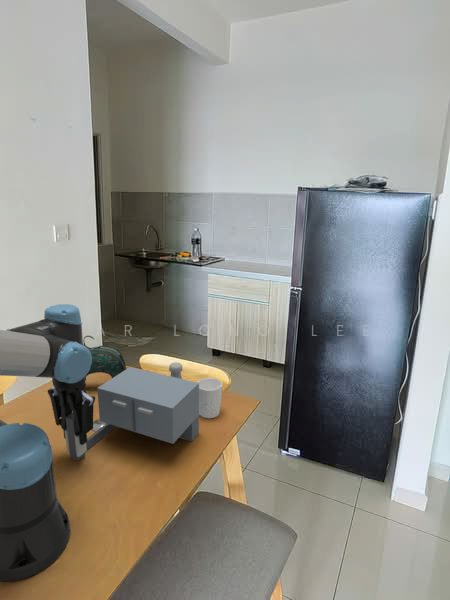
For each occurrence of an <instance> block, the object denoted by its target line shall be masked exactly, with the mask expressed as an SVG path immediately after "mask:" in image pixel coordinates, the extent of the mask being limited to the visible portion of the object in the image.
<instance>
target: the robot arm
mask: <svg viewBox="0 0 450 600" xmlns="http://www.w3.org/2000/svg"><path fill="white" fill-rule="evenodd" d="M81 317H82V316H81V312H80V310H79V307H77V306H76V305H74V304H69V303H68V304H67V303H62V304H55V305H51V306H49V307H47V308H45V309H44V315H43V319H41V320H38V321H34V322H31V323H28V324H27V323H26V324H24V325H21V326H17V327H13V328H7V329H6V330H3V329H0V376H9V377H10V376H11V377H27V378H28V377H29V378H30V377H31V378H32V377H33V378H47V379H48V378H50V379H52V380H51V381H52V387H51V388H49V389H47V395H48V397H49V398H50V402H51V407H52V411H53V416H54V421H55V424H56V426H60V427H61V429H62V430H63V431H62V432H63V438H64V439H65V446H66V447H65V448H66V454H70V450H69V442H68V433H67V426H66V417H67V416H68V415H70V414H71V413H73V416H74V421H75V426H76V430H77V433H75V434H74V435H75V444H76V454H77V457H80V456H81V455H82V454H83V453H85V454H86V453H87V451H88V450H87V448H86V442H87V438H88V435H87V434H88V433H89V432H91V431H93V430H92V429H93V422H94V403H95V401H96V396H95V395H91V396H90V395H89V394H88V393H87V390H86V387H84V384H86V381H87V377H86V375H87V373H88V372H89V370H90V367H91V363H92V356H91V353H90V351H89V350H88V348H86V347H85V346H83V344H84V342H83V340H84V338H83V329H82V326H83V322H82V318H81ZM55 481H56V479H55V472H54V463H53V449H52V445H51V443H50V439H49V436H48V434H47V433H46V432H45V430H44V429H43V428H41V427H39V426H37V425H35V424H33V423H26V422H24V423H22V424H20V423H19V422H14V423H9V424H8V423H7V422H5V421H4V420H2V419H0V582H15V581H20V580H21V581H22V580H23V579H27V578H31V577H33V576H35V575H36V574H38V573H41V572H42V571H43V570H45V569H46V568H48V567H49V566H50V565H52V564H53V563H54V562H55V561H56V560H57V559H58V558H59V557H60V556H61V554H62V553H63V552H64V551H65V549H66V548H67V546H68V543H69V540H70V537H71V525H70V524H71V523H70V518H69V515H68V514H67V513H68V512H67V511H66V510H65V508H64V507H63V505H62V504H61V502H60V501H59V499H58V498H57V490H56V482H55Z"/></svg>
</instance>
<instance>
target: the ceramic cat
mask: <svg viewBox="0 0 450 600" xmlns="http://www.w3.org/2000/svg"><path fill="white" fill-rule="evenodd" d="M86 338H90V339H93V340H95V338H94V337H93V336H92V335H86V336H84V337H83V346H85V347H86V348H88V350H89V351H90V353H91V356H92V363H91V367H90V370H89V372H88V373H87V375H86V378H87V377H88V376H90V375H92V374H96V373H97V374H98V373H101V374H107V375H109V376H110V377H111V379H112V378H114V377H115V376H117V375H118V374H120V373H121V372H123V371H124V370H126V369H127V366H126V361H125V360H124V356H123V354H122V353H121V351H120V349H118V348H117V347H116V346H112V345H106V344H105V345H104V344H103V345H99V346H93V347H89V346H87V345H86V342H85V339H86ZM84 387H85V388H86V383H85V384H84Z"/></svg>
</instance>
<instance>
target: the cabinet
mask: <svg viewBox="0 0 450 600" xmlns="http://www.w3.org/2000/svg"><path fill="white" fill-rule="evenodd" d="M96 389H97V402H98V403H97V404H98V413H99V414H98V415H99V419H100V421H101V422H104V423H108V424H111V425H114V426H116V427H117V428H121V429H124V430H127V431H131V432H133V433H136V434H140V435H144V436H147V437H149V438H153V439H157V440H159V441H163V442H165V443H170V444H175V443H176V442H177V440H178V439H183V440H186V441H188V442H189V441H190V442H193V441H194V440H195V439H197V436H199V433H200V423H199V422H200V420H199V419H200V415H199V383H197V382H196V381H192V380H187V379H183V378H182V379H179V378H175V377H171V376H170V375H166V374H162V373H157V372H154V371H149V370H145V369H140V368H137V367H133V366H130V367H127V368H126V370H124V371H123V372H121V373H120V374H118V375H117V376H115V377H114V378H112V377H111V379H109V380H107V381H105V382H104V383H103V384H102V385H100V386H98V387H97V388H96Z"/></svg>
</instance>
